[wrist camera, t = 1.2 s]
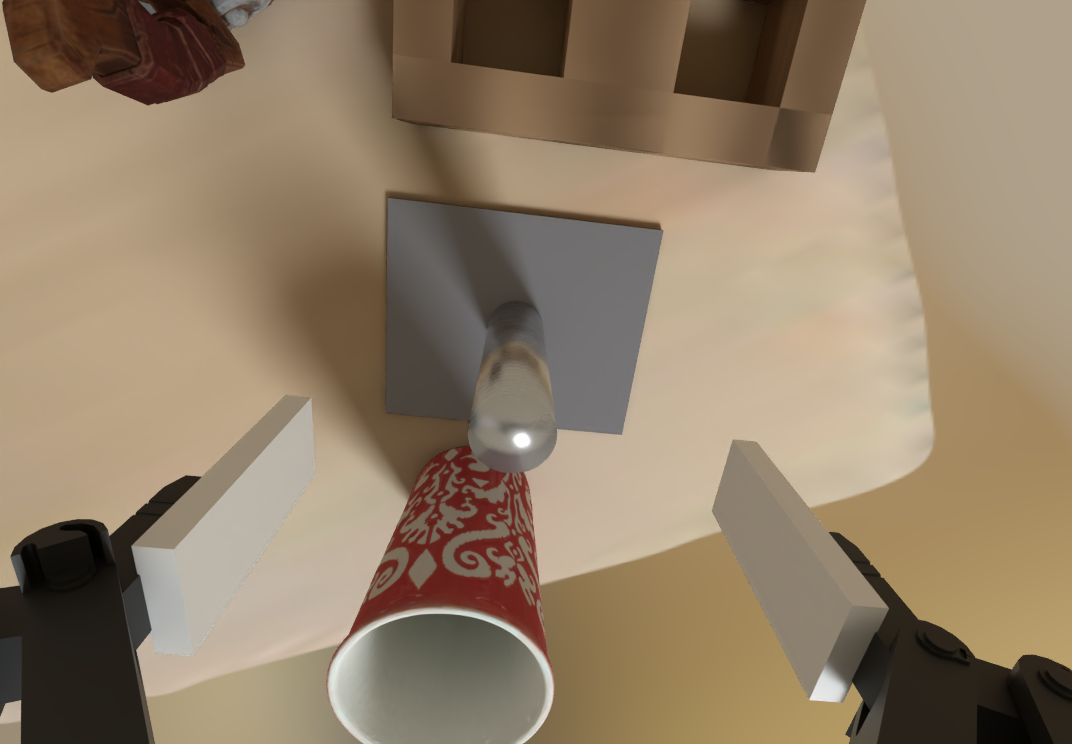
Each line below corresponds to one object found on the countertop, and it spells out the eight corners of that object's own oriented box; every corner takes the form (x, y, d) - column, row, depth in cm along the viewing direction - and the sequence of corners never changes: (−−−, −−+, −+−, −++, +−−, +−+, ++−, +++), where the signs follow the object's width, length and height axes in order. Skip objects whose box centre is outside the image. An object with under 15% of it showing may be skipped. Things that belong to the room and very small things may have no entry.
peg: (486, 350, 29) (464, 469, 18) (490, 298, 28) (470, 390, 17) (539, 355, 29) (550, 476, 18) (546, 303, 28) (562, 399, 17)
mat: (386, 410, 31) (385, 413, 31) (389, 197, 26) (387, 197, 26) (620, 432, 32) (621, 434, 31) (661, 229, 27) (663, 230, 27)
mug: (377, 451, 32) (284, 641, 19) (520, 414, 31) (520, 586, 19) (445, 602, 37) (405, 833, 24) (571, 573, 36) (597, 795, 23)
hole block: (411, 123, 25) (392, 117, 21) (416, -116, 22) (395, -172, 18) (773, 170, 26) (815, 172, 23) (832, -50, 23) (892, -89, 19)
